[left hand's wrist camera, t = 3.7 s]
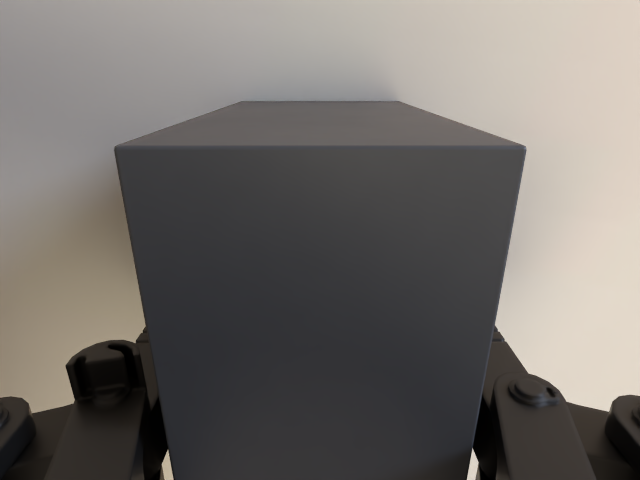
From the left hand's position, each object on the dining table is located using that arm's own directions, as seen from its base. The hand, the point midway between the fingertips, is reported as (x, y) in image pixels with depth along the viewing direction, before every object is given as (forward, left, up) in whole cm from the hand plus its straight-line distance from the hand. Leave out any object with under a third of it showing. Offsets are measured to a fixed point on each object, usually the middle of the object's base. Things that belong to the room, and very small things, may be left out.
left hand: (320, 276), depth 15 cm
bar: (+20, -22, -1) cm, 29 cm away
